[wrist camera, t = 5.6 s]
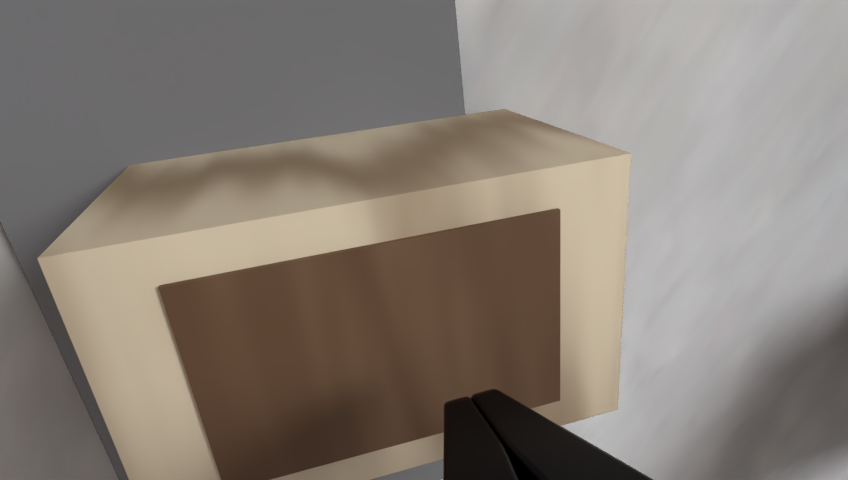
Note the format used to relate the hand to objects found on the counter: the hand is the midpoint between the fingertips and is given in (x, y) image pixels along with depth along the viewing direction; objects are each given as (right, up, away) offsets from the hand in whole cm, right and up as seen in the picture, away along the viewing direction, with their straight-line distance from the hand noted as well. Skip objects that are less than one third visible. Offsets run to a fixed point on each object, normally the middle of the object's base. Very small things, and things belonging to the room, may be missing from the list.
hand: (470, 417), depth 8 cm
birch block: (+3, +3, +6) cm, 7 cm away
